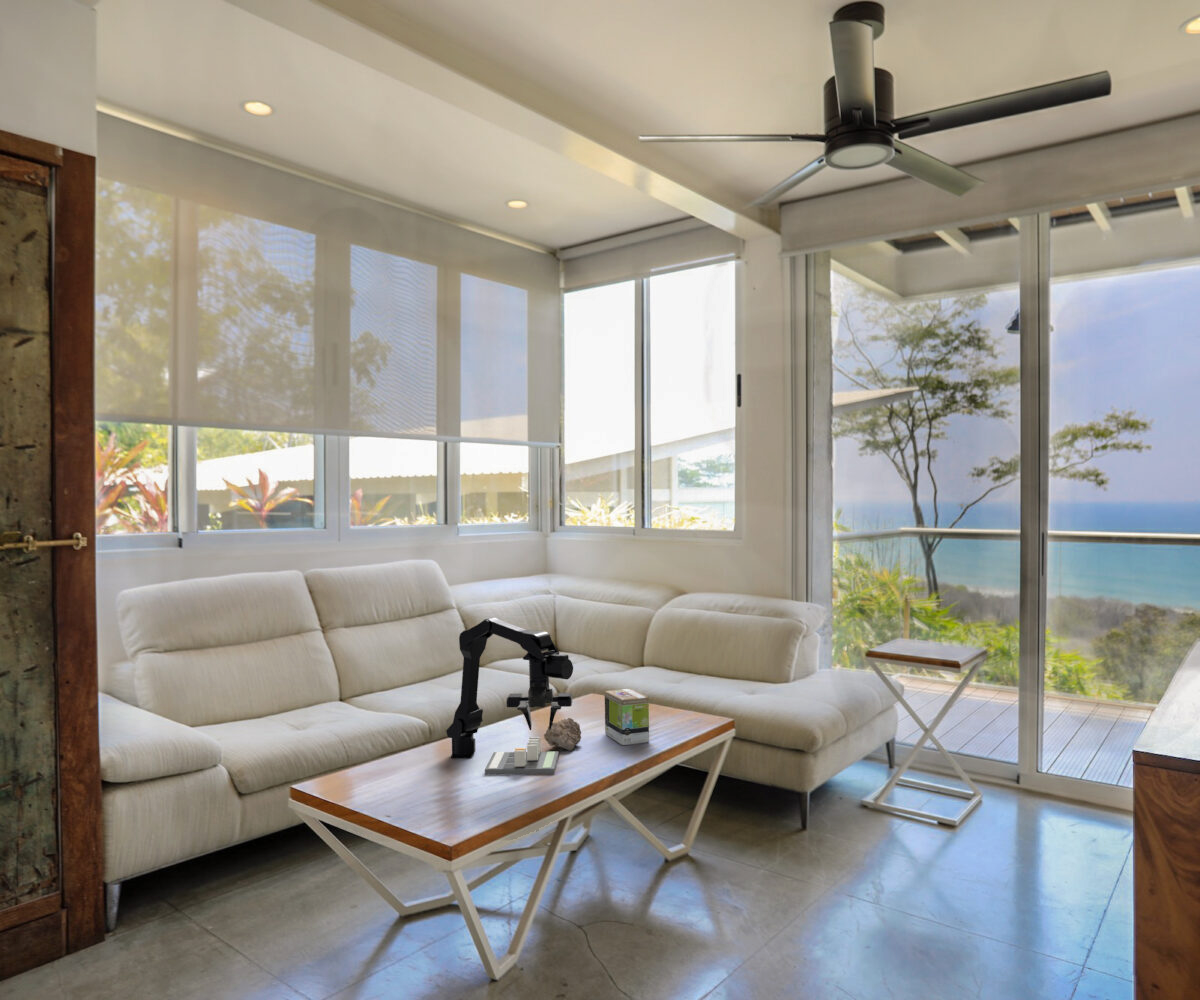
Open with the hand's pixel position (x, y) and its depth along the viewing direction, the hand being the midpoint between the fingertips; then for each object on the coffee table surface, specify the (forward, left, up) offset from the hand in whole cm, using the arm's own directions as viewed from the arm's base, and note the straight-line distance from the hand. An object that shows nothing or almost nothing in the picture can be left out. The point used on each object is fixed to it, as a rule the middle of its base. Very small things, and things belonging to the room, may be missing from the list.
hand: (540, 729), depth 238 cm
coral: (+5, +23, -12) cm, 27 cm away
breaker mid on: (-3, +5, -10) cm, 12 cm away
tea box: (+25, +32, -12) cm, 42 cm away
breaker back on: (-3, +11, -10) cm, 15 cm away
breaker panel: (-6, +5, -12) cm, 14 cm away
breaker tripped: (-6, 0, -10) cm, 12 cm away
